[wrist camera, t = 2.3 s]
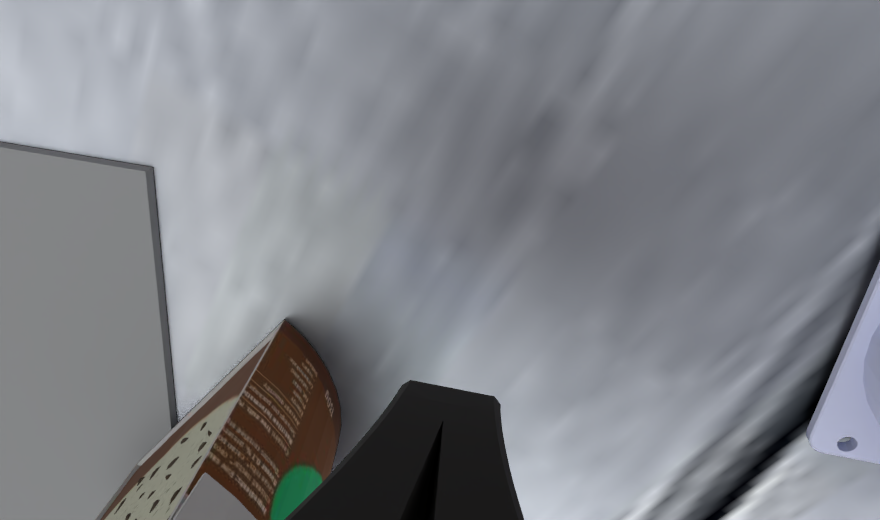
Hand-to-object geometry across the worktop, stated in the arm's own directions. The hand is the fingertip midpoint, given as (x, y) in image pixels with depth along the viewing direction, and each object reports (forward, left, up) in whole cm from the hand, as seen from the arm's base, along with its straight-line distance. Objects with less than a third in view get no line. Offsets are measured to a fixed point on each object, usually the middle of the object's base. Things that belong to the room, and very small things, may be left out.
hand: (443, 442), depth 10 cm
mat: (+19, +11, -10) cm, 24 cm away
